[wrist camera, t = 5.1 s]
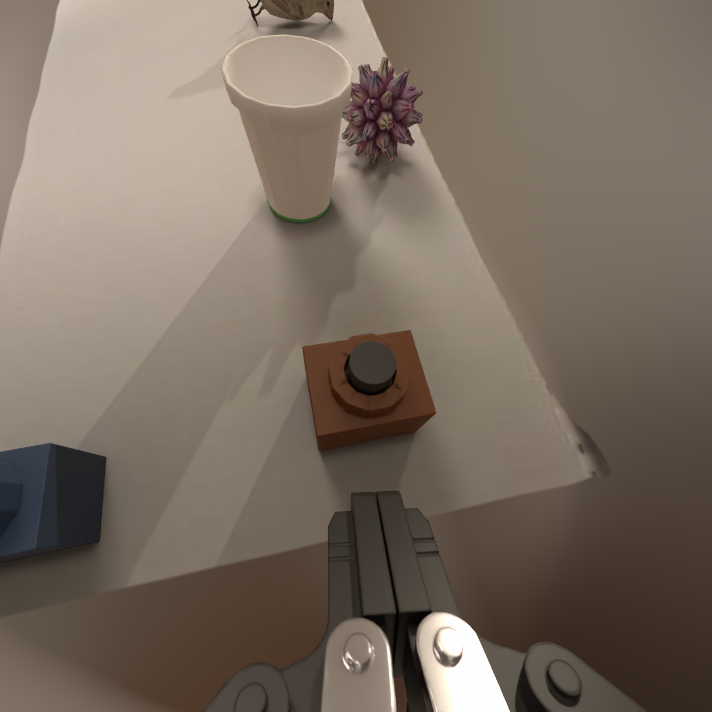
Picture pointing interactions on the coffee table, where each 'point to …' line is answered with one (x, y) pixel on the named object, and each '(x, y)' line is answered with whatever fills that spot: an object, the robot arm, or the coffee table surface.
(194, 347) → the coffee table surface
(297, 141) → the cup
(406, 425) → the brown block with collar
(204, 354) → the coffee table surface
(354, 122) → the flower
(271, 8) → the decorative bird
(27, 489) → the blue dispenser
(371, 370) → the grey round disc
